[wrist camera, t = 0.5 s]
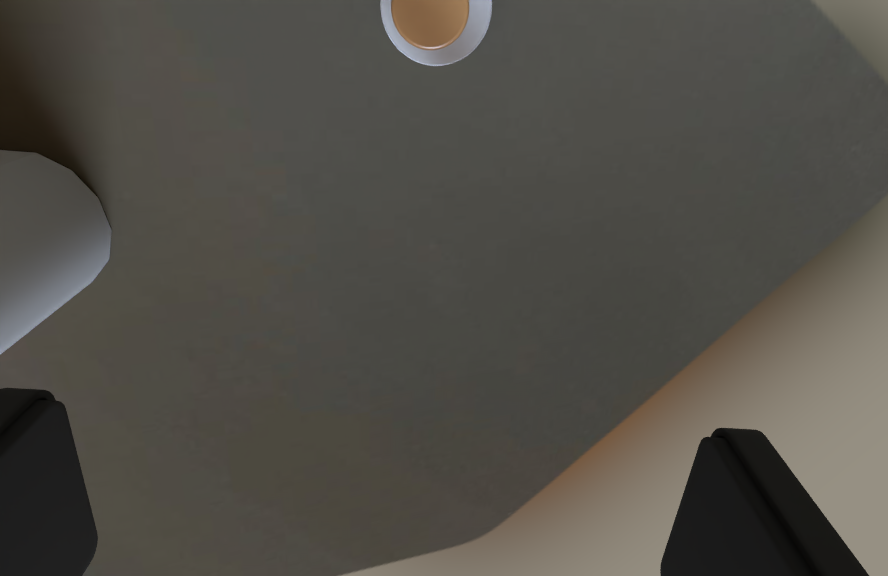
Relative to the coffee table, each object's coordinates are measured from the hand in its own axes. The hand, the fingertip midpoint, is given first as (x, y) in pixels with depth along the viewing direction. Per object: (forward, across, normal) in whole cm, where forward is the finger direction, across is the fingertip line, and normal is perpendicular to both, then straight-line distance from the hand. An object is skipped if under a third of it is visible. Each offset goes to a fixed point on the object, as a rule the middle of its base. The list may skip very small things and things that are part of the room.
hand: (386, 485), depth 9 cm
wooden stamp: (+25, 0, -6) cm, 26 cm away
